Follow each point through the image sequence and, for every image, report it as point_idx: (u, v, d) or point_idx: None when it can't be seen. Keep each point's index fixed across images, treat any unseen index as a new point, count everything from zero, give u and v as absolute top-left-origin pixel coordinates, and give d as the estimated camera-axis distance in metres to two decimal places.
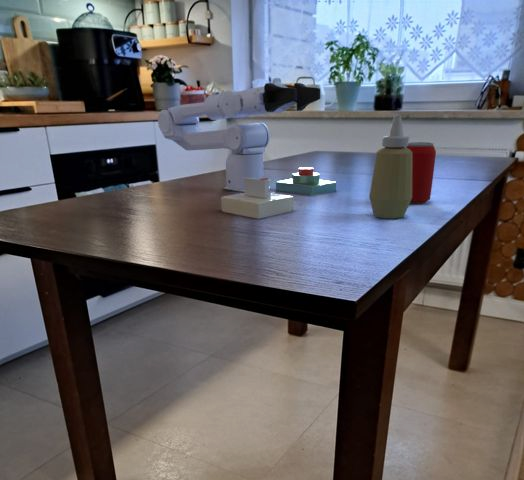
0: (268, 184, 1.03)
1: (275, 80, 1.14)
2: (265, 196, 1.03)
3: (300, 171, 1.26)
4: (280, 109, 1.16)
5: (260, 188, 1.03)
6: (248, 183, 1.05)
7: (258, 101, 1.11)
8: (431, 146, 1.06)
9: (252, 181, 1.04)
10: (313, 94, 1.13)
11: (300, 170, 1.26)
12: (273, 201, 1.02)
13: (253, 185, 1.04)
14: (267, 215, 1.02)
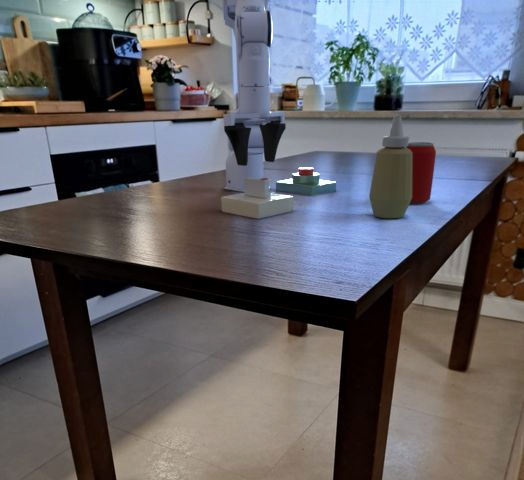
0: (268, 184, 1.03)
1: (265, 116, 0.97)
2: (265, 196, 1.03)
3: (300, 171, 1.26)
4: None
5: (260, 188, 1.03)
6: (248, 183, 1.05)
7: (224, 123, 0.95)
8: (431, 146, 1.06)
9: (252, 181, 1.04)
10: (268, 154, 1.05)
11: (300, 170, 1.26)
12: (273, 201, 1.02)
13: (253, 185, 1.04)
14: (267, 215, 1.02)
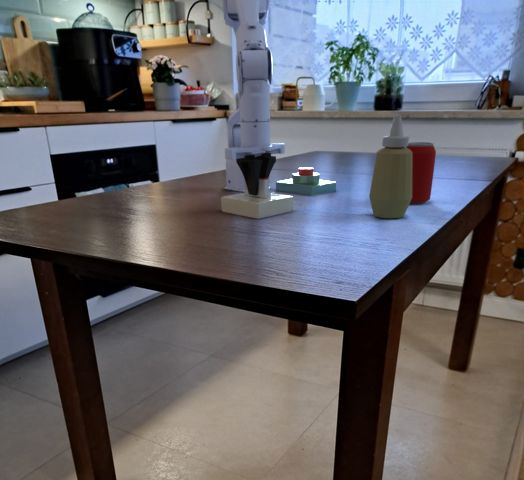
0: (268, 184, 1.03)
1: (265, 150, 0.99)
2: (265, 196, 1.03)
3: (300, 171, 1.26)
4: None
5: (260, 188, 1.03)
6: None
7: (226, 157, 0.98)
8: (431, 146, 1.06)
9: None
10: None
11: (300, 170, 1.26)
12: (273, 201, 1.02)
13: None
14: (267, 215, 1.02)
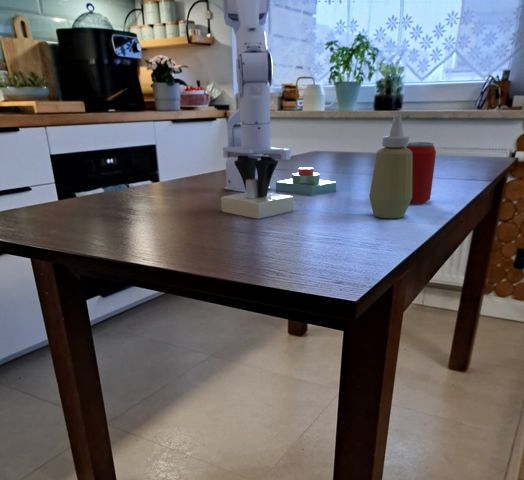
0: (250, 185, 1.02)
1: (243, 153, 1.00)
2: (247, 196, 1.04)
3: (300, 171, 1.26)
4: None
5: None
6: None
7: None
8: (431, 146, 1.06)
9: None
10: None
11: (300, 170, 1.26)
12: (273, 201, 1.02)
13: None
14: (267, 215, 1.02)
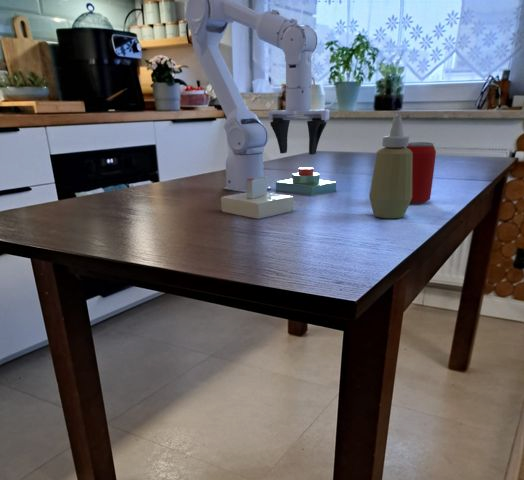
0: (250, 185, 1.02)
1: (288, 113, 1.14)
2: (247, 196, 1.04)
3: (300, 171, 1.26)
4: None
5: None
6: None
7: None
8: (431, 146, 1.06)
9: None
10: None
11: (300, 170, 1.26)
12: (273, 201, 1.02)
13: None
14: (267, 215, 1.02)
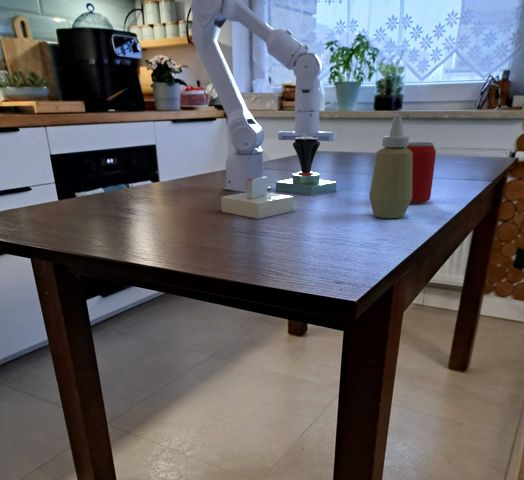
0: (250, 185, 1.02)
1: (297, 135, 1.21)
2: (247, 196, 1.04)
3: None
4: None
5: None
6: None
7: None
8: (431, 146, 1.06)
9: None
10: None
11: (300, 174, 1.26)
12: (273, 201, 1.02)
13: None
14: (267, 215, 1.02)
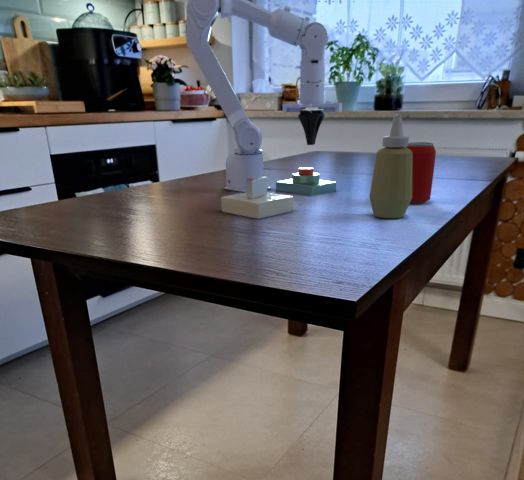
0: (250, 185, 1.02)
1: (303, 106, 1.22)
2: (247, 196, 1.04)
3: (300, 171, 1.26)
4: None
5: None
6: None
7: None
8: (431, 146, 1.06)
9: None
10: None
11: (300, 170, 1.26)
12: (273, 201, 1.02)
13: None
14: (267, 215, 1.02)
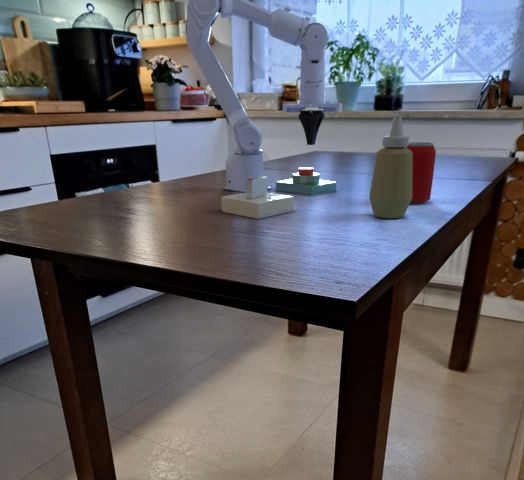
0: (250, 185, 1.02)
1: (303, 106, 1.22)
2: (247, 196, 1.04)
3: (300, 171, 1.26)
4: None
5: None
6: None
7: None
8: (431, 146, 1.06)
9: None
10: None
11: (300, 170, 1.26)
12: (273, 201, 1.02)
13: None
14: (267, 215, 1.02)
